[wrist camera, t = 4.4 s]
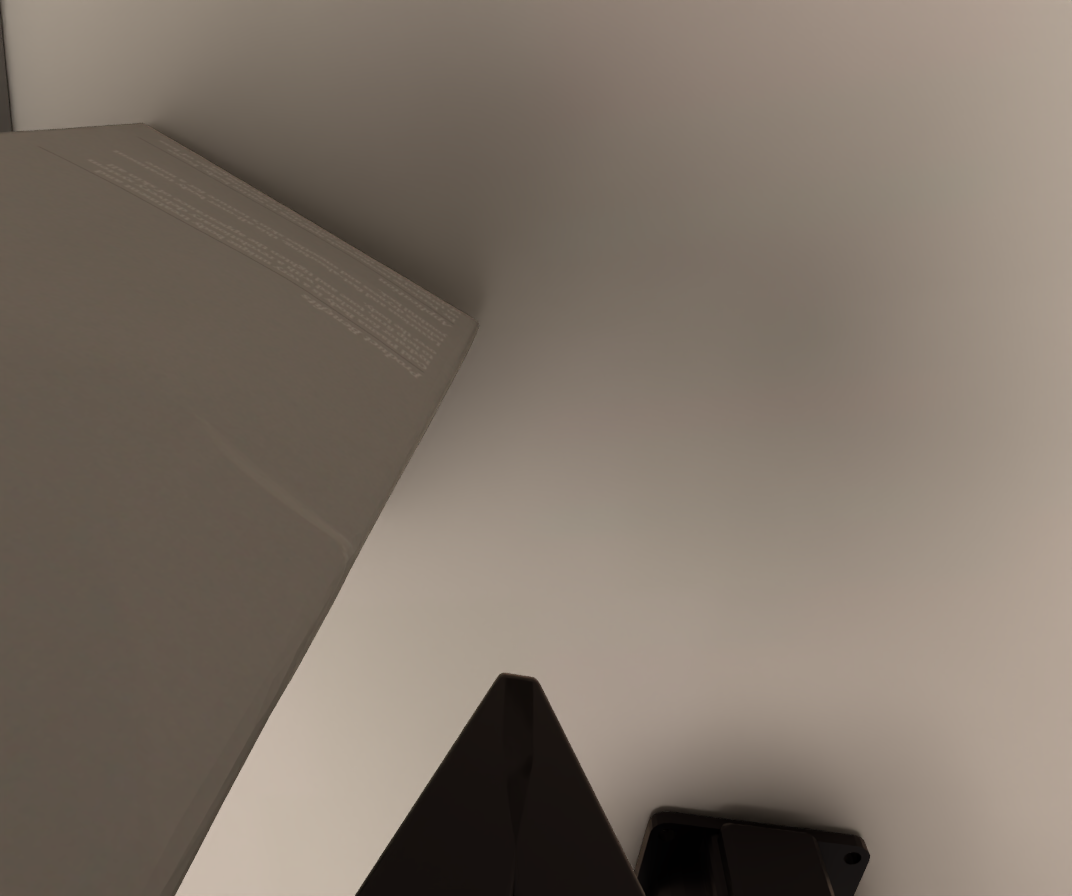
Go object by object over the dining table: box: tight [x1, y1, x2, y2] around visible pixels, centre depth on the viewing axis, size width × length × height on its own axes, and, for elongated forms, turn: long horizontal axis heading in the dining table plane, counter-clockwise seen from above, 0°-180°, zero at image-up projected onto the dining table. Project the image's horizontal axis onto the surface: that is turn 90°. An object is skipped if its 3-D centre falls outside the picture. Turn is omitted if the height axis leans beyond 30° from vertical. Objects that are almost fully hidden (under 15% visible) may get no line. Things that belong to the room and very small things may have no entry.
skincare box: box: [0, 123, 479, 896], centre depth 12 cm, size 8×7×16 cm
